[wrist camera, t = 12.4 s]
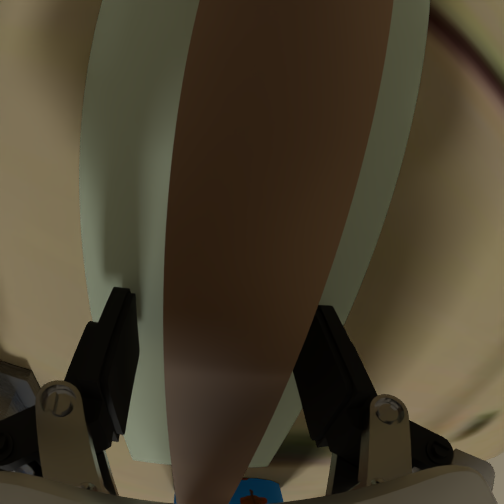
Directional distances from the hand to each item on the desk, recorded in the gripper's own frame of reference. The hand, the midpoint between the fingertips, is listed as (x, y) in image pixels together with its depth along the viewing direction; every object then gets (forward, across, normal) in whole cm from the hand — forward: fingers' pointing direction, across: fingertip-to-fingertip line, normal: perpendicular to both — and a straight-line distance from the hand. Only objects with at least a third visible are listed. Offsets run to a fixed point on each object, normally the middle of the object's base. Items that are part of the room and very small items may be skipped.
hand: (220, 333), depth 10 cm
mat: (+1, 0, 0) cm, 1 cm away
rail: (+1, 0, 0) cm, 1 cm away
